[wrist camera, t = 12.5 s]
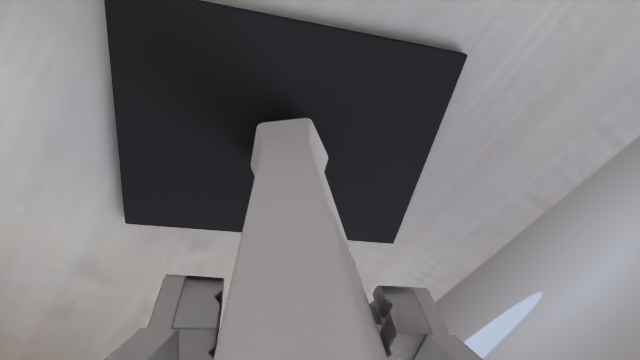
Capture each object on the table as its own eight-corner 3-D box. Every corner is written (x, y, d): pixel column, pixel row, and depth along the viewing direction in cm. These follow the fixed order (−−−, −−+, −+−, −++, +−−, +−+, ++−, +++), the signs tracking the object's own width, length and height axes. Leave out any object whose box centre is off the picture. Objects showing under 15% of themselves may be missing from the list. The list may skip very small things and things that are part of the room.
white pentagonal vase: (220, 132, 17) (42, 675, 4) (307, 94, 16) (409, 586, 4) (265, 204, 19) (240, 688, 6) (342, 173, 19) (478, 636, 6)
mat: (463, 52, 18) (468, 55, 17) (391, 238, 24) (393, 243, 23) (107, -19, 14) (102, -18, 14) (128, 218, 20) (125, 223, 20)
